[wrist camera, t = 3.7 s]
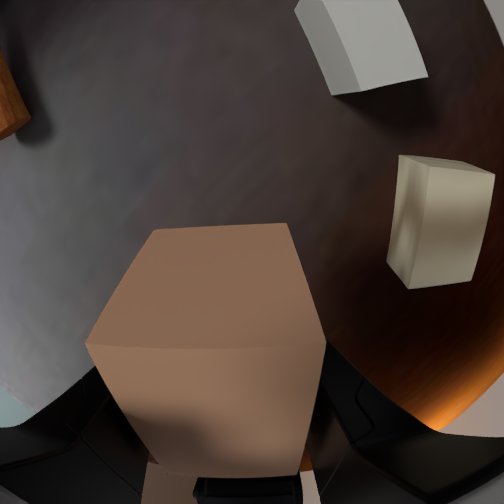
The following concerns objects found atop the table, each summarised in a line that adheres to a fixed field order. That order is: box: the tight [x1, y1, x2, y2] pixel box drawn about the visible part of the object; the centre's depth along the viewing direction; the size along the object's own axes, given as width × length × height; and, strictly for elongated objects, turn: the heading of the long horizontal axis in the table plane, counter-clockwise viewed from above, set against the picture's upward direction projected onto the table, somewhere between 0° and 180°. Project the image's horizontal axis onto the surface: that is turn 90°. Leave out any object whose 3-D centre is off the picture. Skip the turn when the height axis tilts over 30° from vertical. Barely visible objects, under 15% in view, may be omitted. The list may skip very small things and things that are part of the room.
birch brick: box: [386, 155, 495, 289], centre depth 17 cm, size 8×6×4 cm
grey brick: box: [294, 0, 428, 95], centre depth 12 cm, size 6×4×5 cm, turn 22°
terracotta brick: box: [85, 223, 326, 478], centre depth 8 cm, size 6×4×5 cm, turn 2°
